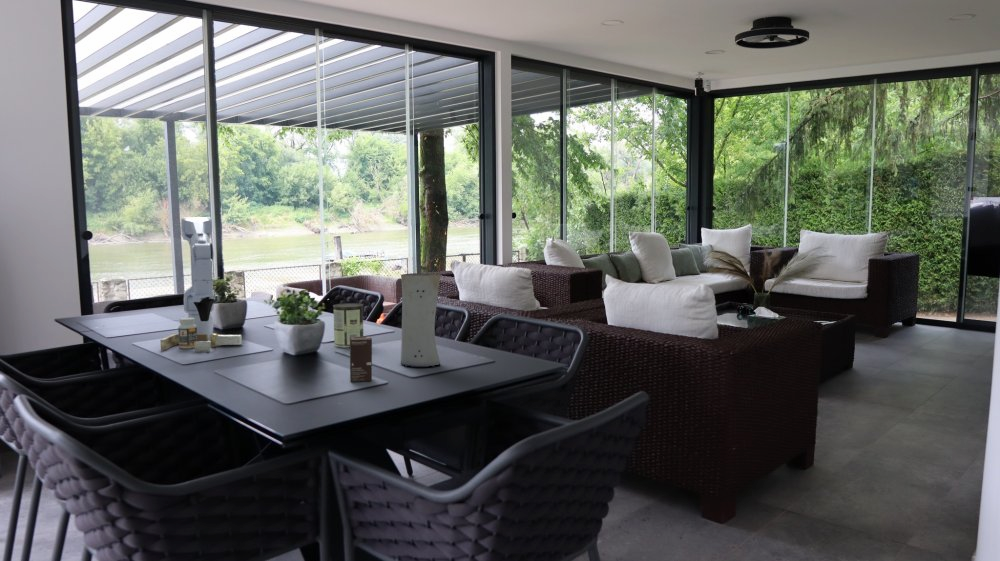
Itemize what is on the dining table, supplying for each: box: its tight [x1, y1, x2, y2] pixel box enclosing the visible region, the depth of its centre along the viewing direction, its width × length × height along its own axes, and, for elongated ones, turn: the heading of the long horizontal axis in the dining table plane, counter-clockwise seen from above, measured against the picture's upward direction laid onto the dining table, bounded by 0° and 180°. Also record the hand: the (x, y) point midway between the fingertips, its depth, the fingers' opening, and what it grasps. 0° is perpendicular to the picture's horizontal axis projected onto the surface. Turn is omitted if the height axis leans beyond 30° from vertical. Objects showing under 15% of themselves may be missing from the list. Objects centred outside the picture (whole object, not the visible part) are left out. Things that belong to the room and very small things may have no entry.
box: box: [349, 336, 373, 383], centre depth 202 cm, size 6×4×12 cm
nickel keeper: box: [194, 340, 212, 353], centre depth 242 cm, size 4×5×3 cm
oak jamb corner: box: [160, 333, 209, 351], centre depth 248 cm, size 11×12×4 cm
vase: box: [400, 272, 442, 368], centre depth 223 cm, size 13×14×28 cm
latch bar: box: [208, 333, 243, 346], centre depth 251 cm, size 10×3×3 cm, turn 93°
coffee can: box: [332, 302, 364, 349], centre depth 253 cm, size 10×10×14 cm
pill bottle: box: [177, 317, 197, 350], centre depth 247 cm, size 6×6×10 cm
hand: (204, 321), depth 240 cm, fingers closed
